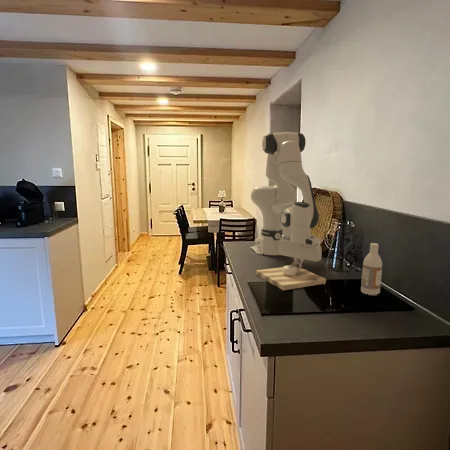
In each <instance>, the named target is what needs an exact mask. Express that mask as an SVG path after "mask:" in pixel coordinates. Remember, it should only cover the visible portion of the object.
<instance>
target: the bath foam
mask: <svg viewBox="0 0 450 450" xmlns="http://www.w3.org/2000/svg"><path fill="white" fill-rule="evenodd" d="M369 245H370V247H369V253H367V255H366V256H365V257H364V259H363V263H362V271H361V272H362V273H361V283H360V284H361V286H360V292H361V293H362V294H365V295H367V294H368V296H378V295H377V294H379V293H380V294H381V287H382V286H381V285H382V284H381V283H382V275H383V274H382V272H383V261H382V258H381V256H380V255H379V243H375V242H371V243H370V244H369ZM380 294H379V295H380Z"/></svg>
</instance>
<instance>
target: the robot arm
mask: <svg viewBox="0 0 450 450" xmlns="http://www.w3.org/2000/svg"><path fill="white" fill-rule="evenodd" d="M306 144H307V143H306V137H305V135H304V134H303V133H301V132H296V131H295V132H293V131H282V132H281V131H280V132H268V133H265V134H264V136H263V137H262V141H261V147H262V151H263V152H264V153H265V154H267V158H266V168H265V170H266V171H265V176H266V178H267V179H268V180H269V181H271V182H273V183H274V185H269V186H268V185H260V186H256V187H254V188H253V189H252V191H251V193H250V199H251V201H252V202H253V204H254V205H255V206H256V207H258V209H259V210H260V212H261V214H262V216H261V217H262V228H260V235H259V236H257V237H256V238H255V240H254V246H253V245H252V246H250V248H252V249H253V250H254V251H255V252H254V251H253V250H252V249H251V250H252V251H253V252H254V253H256V254H257V255H263V254H264V255H265V256H285V257H290V258H293V262H295V263H296V267H298V268H303V266H302V264H303V263H304V262H305V260H306V261H310V262H315V263H316V262H317V263H318V262H320V261H321V260H322V254H323V253H322V251H323V250H322V246H321V245H320V243H321V239H320V238H319V237H317V236H315V235H313V234H311V229H314V228H315V227H316V226H317V225H318V223H319V222H320V214H319V211H318V208H317V204H316V200H315V195H314V190H313V187H312V182H311V179H310V176H309V175H308V174H306V172H305V171H304V168H303V164H302V163H303V159H302V152H303V151H304V150H305V148H306ZM291 185H292V186H295V187H297V188H298V189H299V190H300V191H301V193H302V194H301V195H302V199H303V201H296V200H297V192H296V189H294V187H292V186H291ZM295 201H296V202H295ZM289 205H291V206H289ZM273 206H289V207H286V208H284V209H283V210H282V211H281V213H280V212H278V211H276V210H274V209H273ZM283 227H284V228H288V229H290V235H289V236H286V235H284V234H283V233H284V231H283Z"/></svg>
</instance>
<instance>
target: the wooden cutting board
mask: <svg viewBox="0 0 450 450" xmlns="http://www.w3.org/2000/svg"><path fill="white" fill-rule="evenodd" d="M283 267H284V266H280V267H279V266H278V267H273V268H266V269H265V268H264V269H258V270H255V275H256V276H258V277H259V278H262V279H263V280H265V281H266V282H268V283H269V284H271V285H273V286H275V287H276V286H277V288H279V290H282V291H288V290H293V289H299V288H306V287H311V286H317V285H324V284H325V285H326V282H327V278H325V277H323V276H320V275H318V274H316V273H313V272H311V271H309V270H307V269H304V268H303V267H301V268H297V275H295V276H287V275H284V274H283Z"/></svg>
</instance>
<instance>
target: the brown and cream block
mask: <svg viewBox="0 0 450 450" xmlns="http://www.w3.org/2000/svg"><path fill="white" fill-rule="evenodd" d="M282 267H283V274H284V275H287V276H295V275H297V268H298V267H296V263H295V261H293V262H292V263H291V264H289V265H284V266H282Z"/></svg>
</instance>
